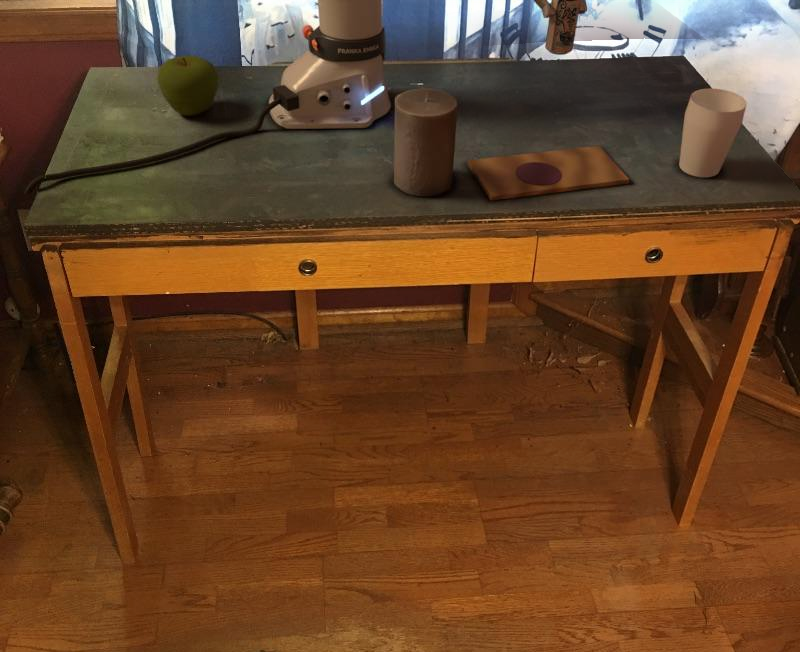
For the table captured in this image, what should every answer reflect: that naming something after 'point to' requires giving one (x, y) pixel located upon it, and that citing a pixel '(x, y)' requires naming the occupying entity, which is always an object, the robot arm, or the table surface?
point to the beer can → (562, 27)
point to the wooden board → (546, 172)
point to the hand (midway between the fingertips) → (565, 14)
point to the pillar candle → (424, 141)
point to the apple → (188, 84)
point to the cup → (710, 130)
